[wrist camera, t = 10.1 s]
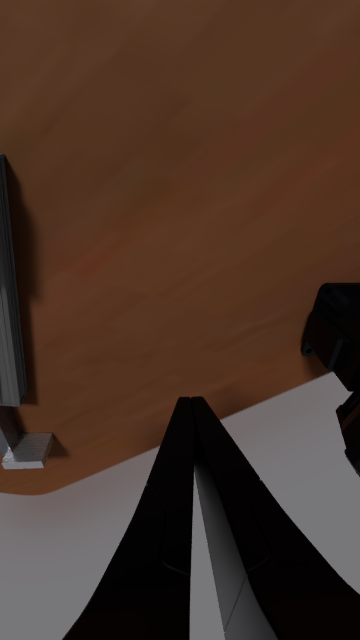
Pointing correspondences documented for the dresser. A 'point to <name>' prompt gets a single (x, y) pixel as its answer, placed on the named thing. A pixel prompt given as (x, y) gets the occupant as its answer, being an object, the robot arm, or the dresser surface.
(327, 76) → the dresser surface
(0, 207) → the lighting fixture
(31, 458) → the end cap rail
